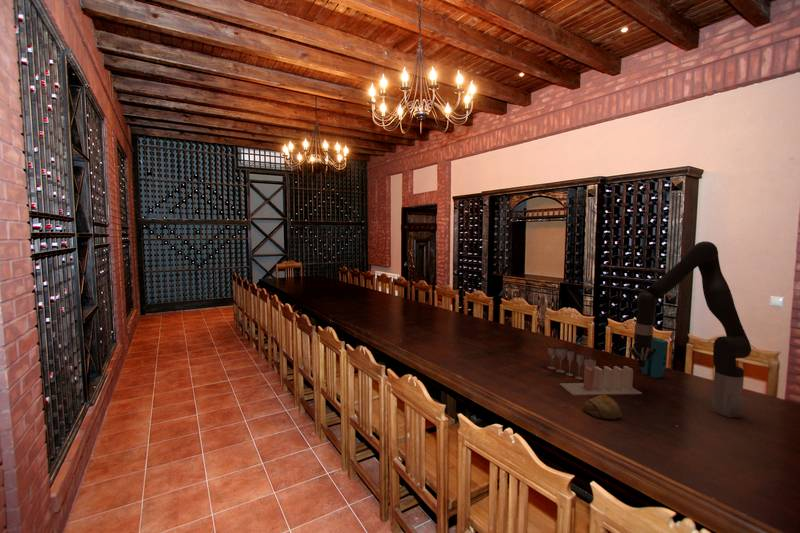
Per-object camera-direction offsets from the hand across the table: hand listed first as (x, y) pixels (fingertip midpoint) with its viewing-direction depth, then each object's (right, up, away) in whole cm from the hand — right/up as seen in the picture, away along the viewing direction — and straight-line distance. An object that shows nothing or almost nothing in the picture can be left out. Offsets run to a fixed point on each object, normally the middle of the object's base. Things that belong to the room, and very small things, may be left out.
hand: (641, 366), depth 185 cm
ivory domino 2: (-17, -10, -1) cm, 20 cm away
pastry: (-33, -13, -26) cm, 44 cm away
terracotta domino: (-27, -10, -1) cm, 29 cm away
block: (+18, -10, +19) cm, 28 cm away
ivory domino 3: (-12, -10, 0) cm, 16 cm away
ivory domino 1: (-22, -10, -1) cm, 24 cm away
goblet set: (-27, -9, +18) cm, 34 cm away
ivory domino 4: (-7, -10, 0) cm, 12 cm away
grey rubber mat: (-21, -11, -1) cm, 24 cm away
